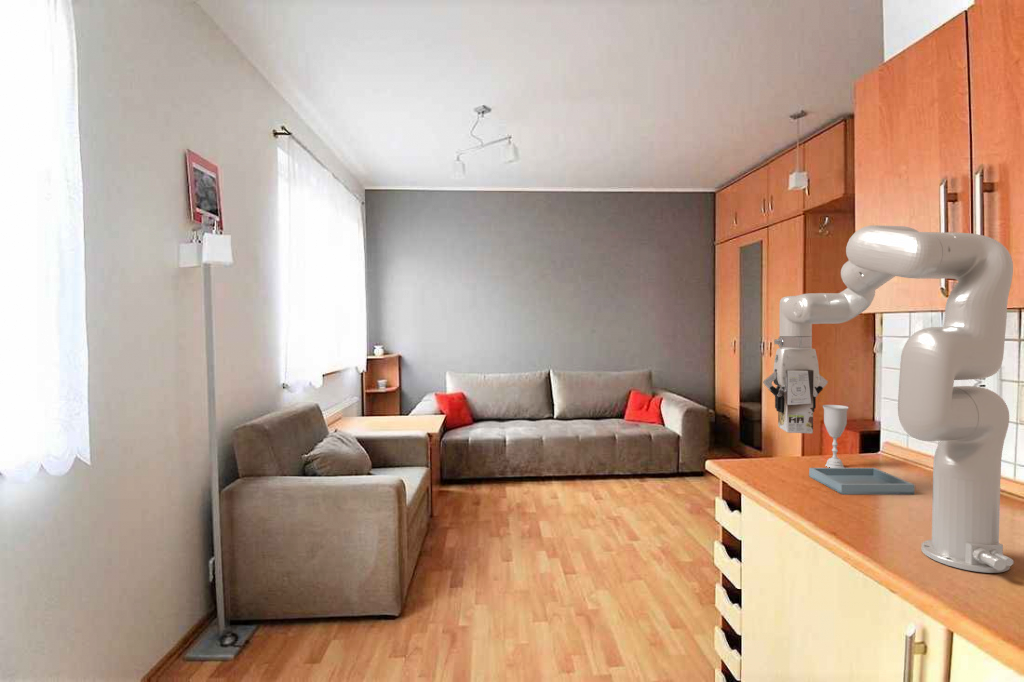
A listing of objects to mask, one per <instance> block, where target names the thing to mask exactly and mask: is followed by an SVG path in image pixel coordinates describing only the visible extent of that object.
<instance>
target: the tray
mask: <svg viewBox="0 0 1024 682" xmlns="http://www.w3.org/2000/svg"><path fill="white" fill-rule="evenodd" d="M808 469H809V473H808V474H809V475H808V477H809V478H810V479H813V480H814V481H816V482H818V483H820V484H822V485H823V484H824V486H825V485H826V486H825V487H827V488H829V489H831V490H833V491H834V490H835V491H834V492H836V491H837V492H836V493H838V494H840V495H915V487H916V485H915V484H914V483H912V482H910V481H907V480H904V479H902V478H900V477H897V476H895V475H893V474H890V473H888V472H886V471H883V470H881V469H879V468H876V467H844V468H829V467H809V468H808Z"/></svg>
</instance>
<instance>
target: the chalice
mask: <svg viewBox="0 0 1024 682" xmlns="http://www.w3.org/2000/svg"><path fill="white" fill-rule="evenodd" d="M822 408H823V423H824V426H825V429H826V431H827V433H828V435H829V437H831V438H832V439H833V441H832V444H831V445H832V449H831V451H832V457H829V458H828V459H827V461H826V464H824V465H825V467H826V466H827V467H826V468H829V467H830V468H845V466H844V463H843V461H842V460H841V458H839V457H838V455H837V453H838V451H839V450H838V445H839V444H838V441H837V440H838V438H841V436H842V434H843V433H844V431H845V429H846V426H847V424H848V421H847V419H848V418H847V416H848V410H849V408H850V407H848V406H847V405H841V404H840V405H838V404H823V405H822Z"/></svg>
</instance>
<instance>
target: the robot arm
mask: <svg viewBox="0 0 1024 682" xmlns="http://www.w3.org/2000/svg"><path fill="white" fill-rule="evenodd" d="M845 254H846V257H847V259H848V260H847V261H846V262H845V263H844V264H843V265H842V267H841V269H840V278H841V280H842V282H843V283H844V285H845V286H846V288H845V289H844V290H841V291H840V292H838V293H836V292H835V293H833V292H830V293H829V292H826V293H825V292H818V293H816V292H815V293H812V292H811V293H809V292H807V293H803V294H799V295H798V294H797V295H789V296H784V297H781V298H780V301H779V314H778V315H779V318H778V319H779V324H778V325H779V329H778V330H779V336H778V338H777V339H774V341H773V343H774V345H778V347H779V348H776V351H775V352H776V353H775V356H774V363H773V372H772V373H771V374H770V375H768V377H766V378H765V379H764V380H763V381H762V383H763V385H764V386H765V387H766V388H767V389H768V391H769V392H770V393H772V395H773V396H774V408H775V409H776V412H784V397H783V393H784V387H786V370H800V369H808V370H814V380H813V413H815V409H816V403H817V402H816V401H817V400H816V398H817V397H818V395H819V394H820V393H821V392H822V391H823V389H824V388H825V387H826V386H827V385H828V382H829V381H828V380H827V378H826V379H825V378H824V376H822V375H821V374H820V370H819V369H820V367H819V361H818V355H817V352H816V348H813V346H812V345H813V341H812V340H813V333H812V330H813V327H812V326H813V325H819V324H821V325H822V324H824V325H825V324H828V325H829V324H833V325H834V324H842V323H847V322H848V321H851V320H852V319H854V318H856V317H858V316H859V315H860V314H861V313H862V314H863V312H865V311H866V310H868V309H869V308H870V306H871V304H872V303H873V301H874V298H875V296H876V290H877V289H879V288H880V287H881V286H883V285H885V284H886V283H888V282H889V281H891V280H892V279H894V278H896V277H900V278H906V279H916V280H918V279H923V280H924V279H927V280H928V279H932V280H933V279H936V280H937V279H938V280H939V279H950V280H956V281H957V283H956V284H955V285H954V287H953V288H952V290H951V291H950V293H949V295H948V297H947V299H946V302H945V307H944V308H945V310H944V311H945V312H944V321H943V326H935V327H932V326H931V327H925V328H922V329H919V330H918V331H916V332H914V333H913V334H911V336H910V337H909V338H908V339H907V340H906V341H905V343H904V346H903V349H902V351H901V355H900V365H899V379H898V392H897V393H898V395H897V416H898V420H899V422H900V425H901V427H902V428H903V430H904V432H906V433H907V434H908V435H909V436H910V437H911V438H914V439H916V440H919V441H922V442H923V441H924V442H938V444H937V445H936V446H937V447H936V449H935V451H934V456H933V457H934V458H933V466H932V469H933V470H932V501H931V502H932V503H931V504H932V509H931V510H932V512H931V515H932V517H931V539H927V540H924V541H923V542H921V544H920V545H921V548H920V549H921V551H922V553H923V554H924V555H925V556H926V557H928V558H930V559H932V560H933V561H936V562H938V563H941V564H943V565H946V566H949V567H952V568H957V569H960V570H965V571H970V572H975V573H977V572H978V573H984V574H985V573H986V574H987V573H988V574H993V573H994V574H997V573H998V574H999V573H1003V572H1007V571H1008V570H1010V568H1011V566H1012V565H1014V560H1013V559H1012V558H1011V557H1010V556H1007V555H1004V554H1003V553H1004V545H1003V544H1002V543H1000V516H1001V515H1000V512H1001V511H1000V510H1001V509H1000V508H1001V507H1000V506H1001V478H1002V475H1001V474H1002V457H1003V450H1004V443H1005V439H1006V436H1007V434H1008V428H1009V424H1010V411H1009V406H1008V405H1007V403H1006V401H1005V400H1004V399H1003V398H1002V396H1000V394H997V393H996V392H994V391H993V390H990V389H988V388H984V387H982V386H972V385H962V386H960V385H958V386H955V385H954V383H955V381H967V380H970V381H971V380H979V379H986V378H990V377H992V376H994V375H995V374H997V373H998V372H999V371H1000V369H1002V365H1003V361H1004V353H1005V352H1004V351H1005V341H1006V328H1007V317H1008V302H1009V296H1010V290H1011V286H1012V281H1013V275H1014V262H1013V259H1012V256H1011V253H1010V252H1009V250H1008V249H1007V247H1005V245H1003V244H1002V243H1001V242H999V241H998V240H996V239H994V238H992V237H990V236H986V235H983V234H977V233H970V232H969V233H967V232H954V231H953V232H938V231H937V232H934V231H933V232H932V231H931V232H930V231H919V230H918V229H915V228H913V227H909V226H905V225H904V226H903V225H880V224H879V225H875V224H874V225H866V226H863V227H861V228H859V229H858V230H856V231H855V232H854V233H853V234H852V235H851V236H850V237H849V239H848V242H847V244H846V247H845ZM772 382H773V384H772ZM774 385H775V386H774Z"/></svg>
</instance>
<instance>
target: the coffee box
mask: <svg viewBox="0 0 1024 682" xmlns="http://www.w3.org/2000/svg"><path fill="white" fill-rule="evenodd" d="M813 380H814V370H808V369H800V370H786V387H784V393H783V397H784V412H778V411H777V412H778V413H777V414H778V415H777V416H778V417H777V419H778V420H777V422H778V423H777V425H778V427H777V428H780V429H781V430H783V431H784V432H786V433H789V434H813V433H814V412H813Z"/></svg>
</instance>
